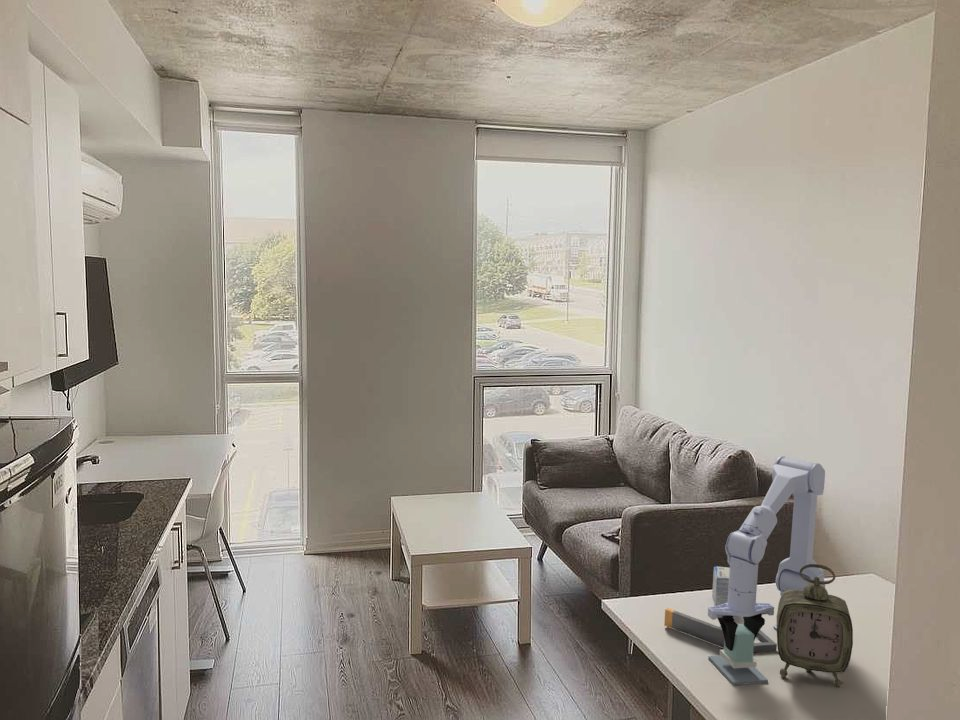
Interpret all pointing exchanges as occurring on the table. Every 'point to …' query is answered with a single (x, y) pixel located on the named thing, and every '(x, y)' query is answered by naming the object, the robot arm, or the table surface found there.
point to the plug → (740, 649)
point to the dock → (764, 643)
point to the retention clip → (694, 627)
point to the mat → (738, 672)
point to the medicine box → (720, 585)
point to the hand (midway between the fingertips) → (738, 647)
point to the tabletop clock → (814, 629)
